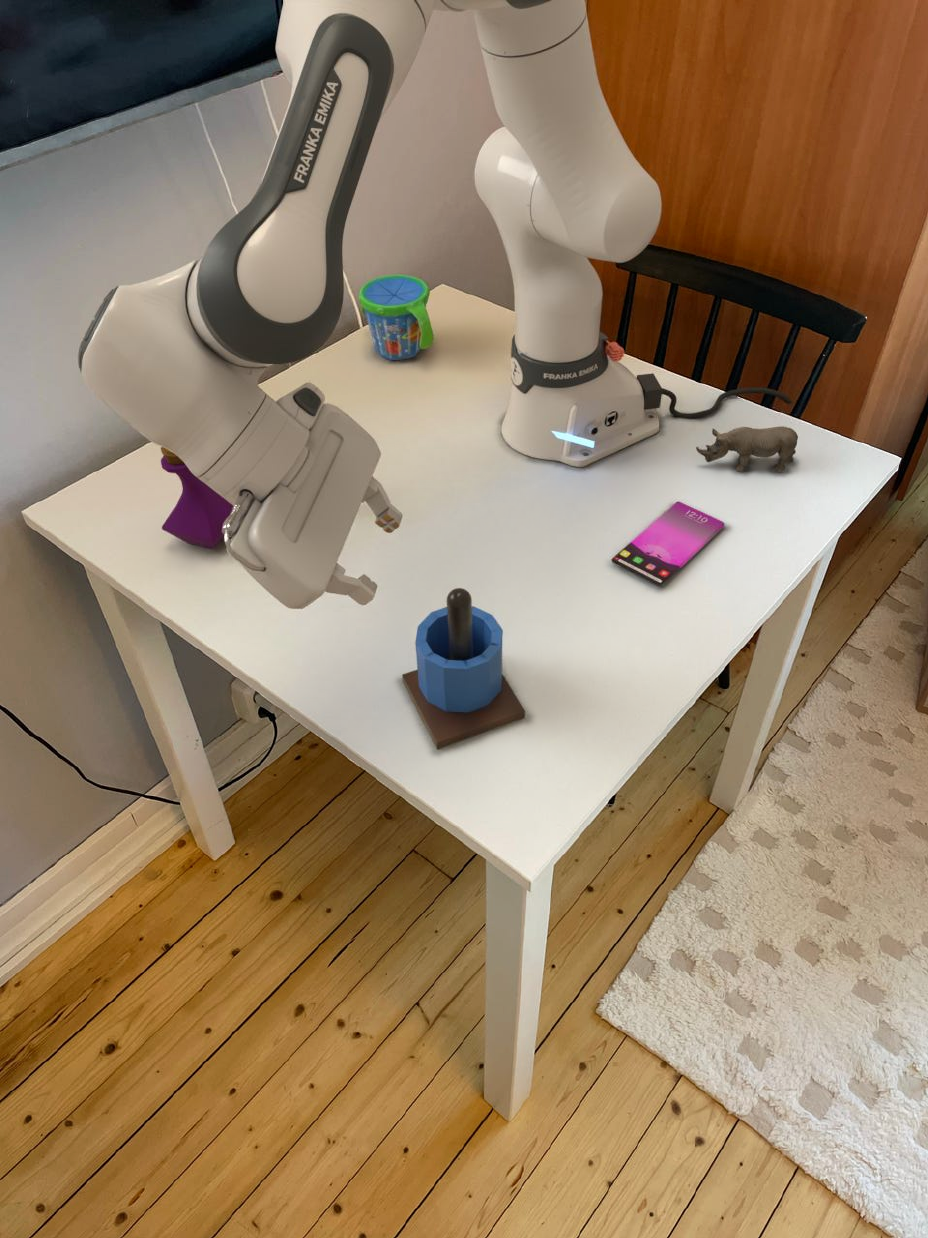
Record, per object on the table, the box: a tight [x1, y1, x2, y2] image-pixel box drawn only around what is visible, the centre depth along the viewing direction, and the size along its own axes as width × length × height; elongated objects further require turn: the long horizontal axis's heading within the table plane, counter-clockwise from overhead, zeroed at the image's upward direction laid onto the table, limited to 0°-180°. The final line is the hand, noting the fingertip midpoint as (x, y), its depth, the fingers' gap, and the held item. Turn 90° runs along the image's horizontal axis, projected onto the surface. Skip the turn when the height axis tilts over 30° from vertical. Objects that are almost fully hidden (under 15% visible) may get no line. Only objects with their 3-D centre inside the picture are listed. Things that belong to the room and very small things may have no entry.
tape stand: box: [401, 587, 526, 750], centre depth 97 cm, size 10×10×16 cm
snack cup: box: [358, 274, 435, 361], centre depth 149 cm, size 16×10×10 cm
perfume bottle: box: [160, 446, 233, 550], centre depth 116 cm, size 8×8×18 cm
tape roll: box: [414, 605, 504, 713], centre depth 101 cm, size 9×9×7 cm
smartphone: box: [611, 501, 725, 587], centre depth 119 cm, size 7×15×1 cm, turn 139°
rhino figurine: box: [695, 425, 799, 473], centre depth 128 cm, size 4×14×6 cm, turn 89°
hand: (384, 559), depth 84 cm, fingers open, 8 cm apart
